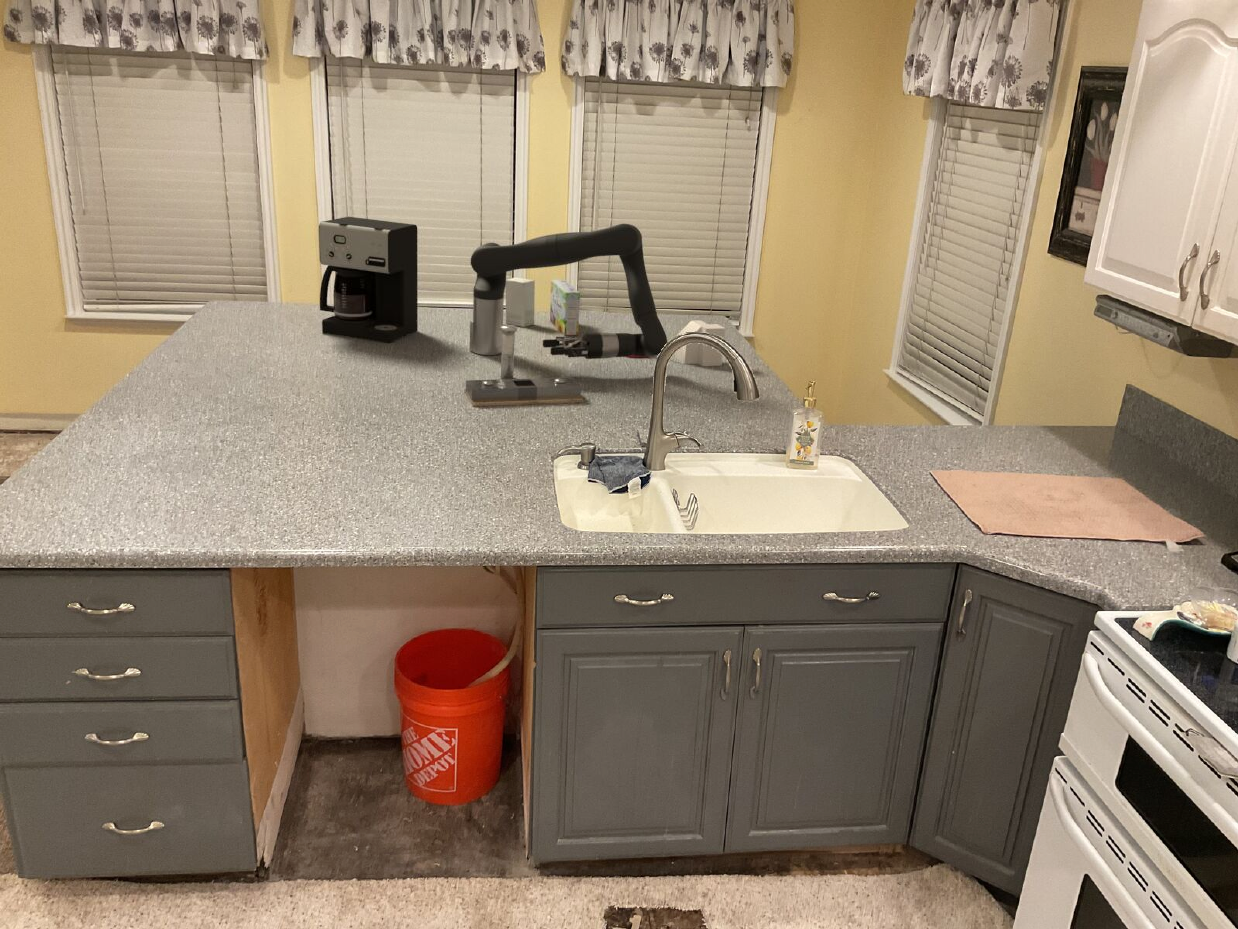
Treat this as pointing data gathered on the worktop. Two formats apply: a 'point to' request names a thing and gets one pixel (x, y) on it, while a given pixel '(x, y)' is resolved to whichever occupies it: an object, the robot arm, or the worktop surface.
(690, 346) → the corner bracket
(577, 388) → the pin socket base plate
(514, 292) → the skincare box
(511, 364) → the steel pin
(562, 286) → the snack box
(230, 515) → the worktop surface
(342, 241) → the coffee maker
